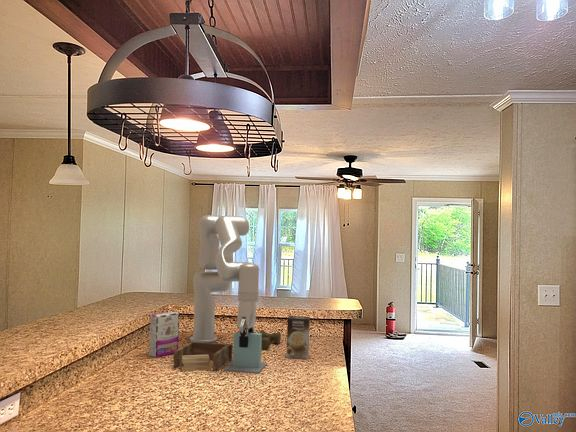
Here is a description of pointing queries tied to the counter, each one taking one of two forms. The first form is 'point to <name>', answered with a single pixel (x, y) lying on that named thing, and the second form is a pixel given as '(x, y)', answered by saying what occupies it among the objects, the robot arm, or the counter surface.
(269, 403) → the counter surface
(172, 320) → the candy bar box
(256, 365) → the pale teal block
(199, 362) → the offcut stack
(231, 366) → the slate mat
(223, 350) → the frame
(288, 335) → the coffee box
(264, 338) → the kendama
